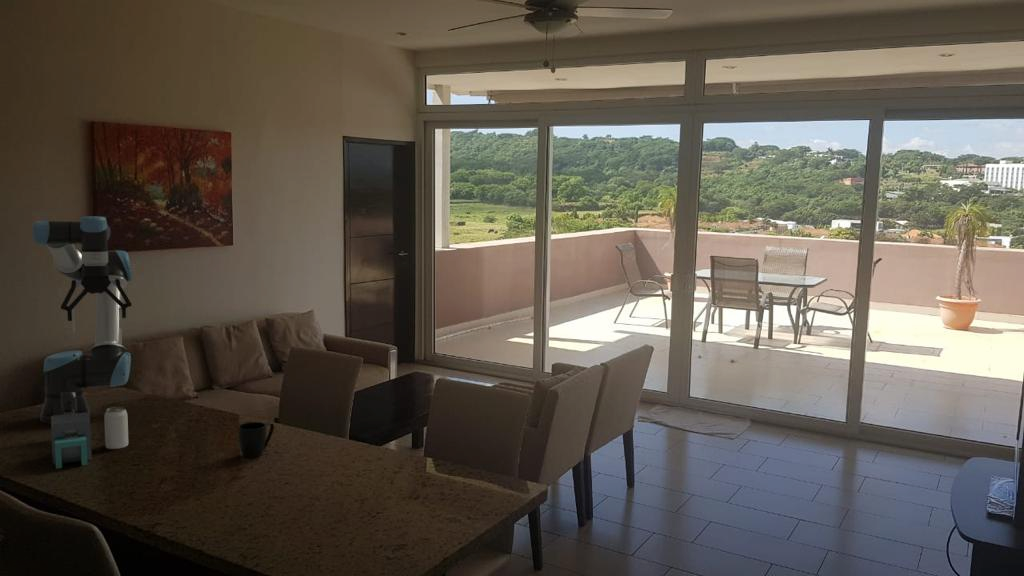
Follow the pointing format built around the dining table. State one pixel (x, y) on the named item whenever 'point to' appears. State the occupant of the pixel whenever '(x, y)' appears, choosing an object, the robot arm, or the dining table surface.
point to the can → (116, 428)
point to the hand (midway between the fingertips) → (97, 329)
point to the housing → (66, 424)
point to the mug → (253, 438)
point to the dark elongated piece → (69, 408)
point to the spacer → (70, 443)
